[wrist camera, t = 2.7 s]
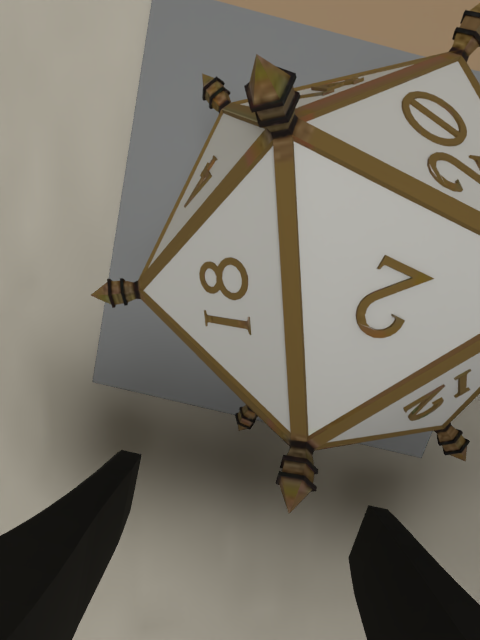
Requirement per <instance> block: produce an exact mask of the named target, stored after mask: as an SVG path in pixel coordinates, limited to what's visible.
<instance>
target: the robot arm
mask: <svg viewBox="0 0 480 640" xmlns="http://www.w3.org/2000/svg"><path fill="white" fill-rule="evenodd" d="M140 459H141V454H137V453H132V452H128V451H123V450H121V451H120V452H118V453H117V454H116V455H114V456H113V457H112V458H111V459H110V460H109V461H108V462H107V463H105V464H104V465H103V466H102V467H101V468H100V469H98V470H97V471H96V472H95V473H94V474H92V475H91V476H90V477H89V478H87V479H86V480H85V481H83V482H82V483H81V484H80V485H78V486H77V487H76V488H74V489H73V490H72V491H70V492H69V493H68V494H66V495H65V496H63V497H62V498H61V499H59V500H58V501H56V502H55V503H53V504H52V505H51V506H49V507H48V508H46V509H45V510H43V511H42V512H40V513H38V514H37V515H35V516H34V517H32V518H31V519H29V520H27V521H26V522H24V523H22V524H20V525H19V526H17V527H15V528H14V529H12V530H10V531H8V532H7V533H5V534H3V535H1V536H0V640H72V638H73V636H74V634H75V632H76V630H77V627H78V625H79V623H80V621H81V619H82V617H83V615H84V613H85V611H86V609H87V606H88V604H89V602H90V600H91V598H92V596H93V594H94V592H95V590H96V588H97V586H98V584H99V582H100V580H101V578H102V576H103V574H104V572H105V570H106V568H107V566H108V564H109V561H110V559H111V557H112V555H113V553H114V551H115V549H116V547H117V545H118V543H119V540H120V537H121V535H122V532H123V529H124V526H125V524H126V521H127V518H128V515H129V513H130V510H131V505H132V500H133V495H134V490H135V484H136V479H137V474H138V469H139V464H140ZM349 564H350V571H351V577H352V583H353V589H354V594H355V598H356V602H357V605H358V609H359V613H360V616H361V620H362V623H363V627H364V630H365V634H366V637H367V640H480V605H479V604H478V603H477V602H476V601H475V600H474V599H473V598H472V597H471V596H470V595H469V594H468V593H467V592H466V591H465V590H464V589H463V588H462V587H461V586H460V585H459V584H458V583H457V582H456V581H455V580H454V579H453V578H452V577H451V576H450V575H449V574H448V573H447V572H446V571H445V570H444V569H443V568H442V567H441V566H440V565H439V563H438V562H437V561H436V560H435V559H434V558H433V557H432V556H431V555H430V554H429V553H428V552H427V551H426V550H425V548H424V547H423V546H422V545H421V544H420V543H419V542H418V541H417V540H416V539H415V538H414V537H413V535H412V534H411V533H410V532H409V531H408V530H407V529H406V528H405V527H404V526H403V525H402V524H401V523H400V522H399V521H398V519H397V518H396V517H395V516H394V515H393V514H392V513H391V512H389V511H388V510H387V509H383V508H378V507H374V506H369V505H368V508H367V511H366V513H365V516H364V519H363V521H362V524H361V526H360V529H359V532H358V534H357V537H356V539H355V542H354V545H353V547H352V550H351V553H350V555H349Z"/></svg>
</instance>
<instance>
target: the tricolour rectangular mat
mask: <svg viewBox="0 0 480 640" xmlns="http://www.w3.org/2000/svg"><path fill="white" fill-rule="evenodd" d="M479 3H480V0H152V3H151V10H150V16H149V22H148V29H147V35H146V42H145V48H144V55H143V61H142V67H141V74H140V80H139V87H138V93H137V99H136V106H135V112H134V119H133V125H132V132H131V138H130V144H129V151H128V157H127V164H126V170H125V177H124V183H123V189H122V196H121V202H120V209H119V215H118V222H117V228H116V234H115V241H114V247H113V254H112V260H111V267H110V273H109V279H111V280H112V281H120V278H123V279H124V280H125V281H129V282H135V281H138V279H139V277H140V275H141V273H142V271H143V269H144V267H145V265H146V263H147V261H148V259H149V257H150V255H151V253H152V251H153V249H154V247H155V245H156V242H157V240H158V238H159V236H160V234H161V232H162V230H163V228H164V226H165V224H166V222H167V220H168V218H169V216H170V214H171V212H172V210H173V208H174V206H175V204H176V201H177V199H178V197H179V195H180V193H181V191H182V189H183V187H184V185H185V183H186V181H187V179H188V177H189V175H190V173H191V171H192V169H193V167H194V165H195V163H196V160H197V158H198V156H199V154H200V152H201V150H202V148H203V146H204V144H205V142H206V140H207V138H208V136H209V134H210V132H211V130H212V128H213V126H214V124H215V122H216V119H217V117H218V115H219V112H217V111H216V110H215V109H210V108H209V103H208V102H207V100H205V101H203V99H202V94H203V79H202V73H203V74H205V75H208V76H210V77H213V78H215V77H216V76H217V77H218V78H219V79H221V80H222V81H224V83H225V84H224V87H225V88H226V89H227V90H229V91H230V95H229V97H230V100H231V102H235V101H240V100H244V99H247V95H246V91H245V87H244V86H245V85H246V84H247V83H249V82H250V78H251V74H252V70H253V66H254V61H255V57H256V54H257V55H259V56H260V57H262V58H264V59H265V60H267V61H268V62H270V63H271V64H273V65H275V66H277V67H280V68H282V69H285V70H288V71H291V72H294V73H296V77H297V78H296V80H295V82H294V85H293V87H294V88H295V87H300V86H304V85H308V84H312V83H317V82H321V81H325V80H330V79H334V78H338V77H343V76H347V75H351V74H355V73H360V72H364V71H368V70H373V69H377V68H381V67H385V66H390V65H394V64H398V63H403V62H407V61H411V60H415V59H420V58H424V57H428V56H433V55H437V54H441V53H446V52H449V50H450V49H451V48H452V46H453V42H454V40H453V39H452V38H453V34H454V31H455V29H456V27H460V25H461V24H460V22H461V19H462V16H463V13H464V11H465V10H468V11H469V10H471V9H472V8H474V7H475V6H476V5H478V4H479ZM467 64H468V65H469V67H470V69H471V70H472V72H473V74H474V76H475V77H476V79H477V81H478V82H479V84H480V47H477V48H476V50H475V51H474V52H473V53H472V54H471V55H470V56H469V58H468V61H467ZM93 382H95V383H99V384H103V385H108V386H112V387H116V388H121V389H125V390H129V391H134V392H138V393H142V394H147V395H151V396H155V397H159V398H164V399H168V400H172V401H177V402H181V403H185V404H190V405H194V406H198V407H203V408H207V409H211V410H216V411H220V412H224V413H229V414H233V415H235V414H236V413H239V411H240V410H239V408H240V407H244V406H245V405H246V404H245V403H244V402H243V401H242V400H241V399H240V398H239V397H238V396H237V395H236V394H235V393H234V392H233V391H232V390H231V389H230V388H229V387H228V386H227V385H226V384H225V383H224V382H223V381H222V380H221V379H220V378H219V377H218V376H217V375H216V374H215V373H214V372H213V371H212V370H211V369H210V368H209V367H208V366H207V365H206V364H205V363H204V362H203V361H202V360H201V359H200V358H199V357H198V356H197V355H196V354H195V353H194V352H193V351H192V350H191V349H190V348H189V347H188V346H187V345H186V344H185V343H184V342H183V341H182V340H181V339H180V338H179V337H178V336H177V335H176V334H175V333H174V332H173V331H172V330H171V329H170V328H169V327H168V326H167V325H166V324H165V323H164V322H163V321H162V320H161V319H160V318H159V317H158V316H157V315H156V314H155V313H154V312H153V311H152V310H151V309H150V308H149V307H148V306H147V305H146V304H145V303H144V302H143V301H142V300H141V299H134V300H132V301H130V302H128V305H126V306H124V303H123V304H117V305H116V306H115V308H112V305H111V304H109V303H106V302H105V305H104V312H103V318H102V324H101V331H100V337H99V344H98V350H97V356H96V363H95V369H94V376H93ZM256 420H259V421H263V420H262V419H261V418H259V417H257V418H256ZM263 422H264V421H263ZM431 434H432V431H428V432H422V433H416V434H410V435H404V436H398V437H392V438H386V439H380V440H374V441H368V442H362V443H359V444H363V445H367V446H372V447H376V448H380V449H385V450H389V451H393V452H398V453H402V454H406V455H411V456H415V457H419V458H422V455H423V453H424V451H425V448H426V446H427V443H428V441H429V438H430V436H431Z"/></svg>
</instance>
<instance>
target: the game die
mask: <svg viewBox="0 0 480 640" xmlns="http://www.w3.org/2000/svg"><path fill="white" fill-rule="evenodd" d="M460 24H461V25H460V27H456V29H455V31H454V34H453V38H452V39H453V40H454V42H453V46H452V48H451V49H450V50H449V52H446V53H441V54H437V55H433V56H428V57H424V58H420V59H415V60H411V61H407V62H403V63H398V64H394V65H390V66H385V67H381V68H377V69H373V70H368V71H364V72H360V73H355V74H351V75H347V76H343V77H338V78H334V79H330V80H325V81H321V82H317V83H312V84H308V85H304V86H300V87H295V88H294V87H293V85H294V82H295V80H296V78H297V77H296V73H294V72H291V71H288V70H285V69H282V68H280V67H277V66H275V65H273V64H271V63H270V62H268V61H267V60H265V59H264V58H262V57H260V56H259V55H257V54H256V57H255V61H254V66H253V70H252V74H251V78H250V82H249V83H247V84H246V85H245V86H244V87H245V91H246V95H247V99H244V100H240V101H235V102H231V100H230V97H229V95H230V91H229V90H227V89H226V88H225V87H224V84H225V83H224V81H222V80H221V79H219V78H218V77H217V76H216V77H215V78H213V77H210V76H208V75H205V74H203V73H202V79H203V94H202V99H203V101H205V100H207V102H208V103H209V108H210V109H215V110H216V111H217V112H219V115H218V117H217V119H216V122H215V124H214V126H213V128H212V130H211V132H210V134H209V136H208V138H207V140H206V142H205V144H204V146H203V148H202V150H201V152H200V154H199V156H198V158H197V160H196V163H195V165H194V167H193V169H192V171H191V173H190V175H189V177H188V179H187V181H186V183H185V185H184V187H183V189H182V191H181V193H180V195H179V197H178V199H177V201H176V204H175V206H174V208H173V210H172V212H171V214H170V216H169V218H168V220H167V222H166V224H165V226H164V228H163V230H162V232H161V234H160V236H159V238H158V240H157V242H156V245H155V247H154V249H153V251H152V253H151V255H150V257H149V259H148V261H147V263H146V265H145V267H144V269H143V271H142V273H141V275H140V277H139V279H138V281H135V282H129V281H125V280H124V279H123V278H120V281H112V280H111V279H107V283H106V284H104V285H103V286H102V287H100V288H99V289H98V290H97V291H95V292H94V293H93V294H92V295H91V296H94V297H96V298H98V299H100V300H102V301H104V302H106V303H109V304H111V305H112V308H115V306H116V305H117V304H123V303H124V306H126V305H128V302H130V301H132V300H134V299H141V300H142V301H143V302H144V303H145V304H146V305H147V306H148V307H149V308H150V309H151V310H152V311H153V312H154V313H155V314H156V315H157V316H158V317H159V318H160V319H161V320H162V321H163V322H164V323H165V324H166V325H167V326H168V327H169V328H170V329H171V330H172V331H173V332H174V333H175V334H176V335H177V336H178V337H179V338H180V339H181V340H182V341H183V342H184V343H185V344H186V345H187V346H188V347H189V348H190V349H191V350H192V351H193V352H194V353H195V354H196V355H197V356H198V357H199V358H200V359H201V360H202V361H203V362H204V363H205V364H206V365H207V366H208V367H209V368H210V369H211V370H212V371H213V372H214V373H215V374H216V375H217V376H218V377H219V378H220V379H221V380H222V381H223V382H224V383H225V384H226V385H227V386H228V387H229V388H230V389H231V390H232V391H233V392H234V393H235V394H236V395H237V396H238V397H239V398H240V399H241V400H242V401H243V402H244V403H245V404H246V405H245V406H244V407H240V408H239V410H240V411H239V413H236V414H235V416H236V420H237V424H238V429H239V431H240V430H244V429H251V427H252V426H253V424H254V423H255V420H256V418H257V417H259V418H261V419H262V420H263V421H264V422H265V423H266V424H267V425H268V426H269V427H270V428H271V429H272V430H273V431H274V432H275V433H276V434H277V435H278V436H279V437H281V438H282V439H283V440H284V441H285V442H286V443H287V444H288V445H289V446H290V450H289V452H288V454H287V455H283V458H282V462H281V465H280V468H283V469H282V472H281V471H279V473H278V477H277V480H276V484H278V485H280V488H281V491H282V494H283V497H284V500H285V503H286V506H287V509H288V512H289V513H290V512H291V511H292V510H293V509H294V508H295V507H296V506H297V505H298V504H299V503H300V502H301V501H302V500H303V499H304V498H305V497H306V496H307V495H308V494H309V493H310V492H311V491H316V489H317V487H316V486H315V485H314V484H313V479H314V474H318V469H317V468H316V467H315V466H314V463H313V457H312V455H313V452H314V451H315V450H321V449H327V448H333V447H339V446H345V445H350V444H356V443H362V442H368V441H374V440H380V439H386V438H392V437H398V436H404V435H410V434H416V433H422V432H428V431H435V432H436V433H437V440H438V444H439V446H441V445H442V446H443V451H444V454H445V455H451V456H454V457H456V458H459V459H461V460H463V461H466V450H467V445H468V444H469V442H470V441H469V440H468V439H465V438H463V436H462V433H463V432H462V431H461V430H457V429H455V428H454V427H453V426H451V423H450V422H451V421H452V420H453V419H454V418H455V417H456V416H457V415H458V414H459V413H460V412H461V411H462V410H463V409H464V408H465V407H466V406H467V405H468V404H469V403H470V402H471V401H472V400H473V399H474V398H475V397H476V396H477V395H478V394H479V393H480V84H479V82H478V81H477V79H476V77H475V76H474V74H473V72H472V70H471V69H470V67H469V65H468V64H467V61H468V58H469V56H470V55H471V54H472V53H473V52H474V51H475V50H476V48H477V47H480V3H479V4H478V5H476V6H475V7H474V8H472V9H471V10H469V11H468V10H465V11H464V13H463V16H462V19H461V22H460Z"/></svg>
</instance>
